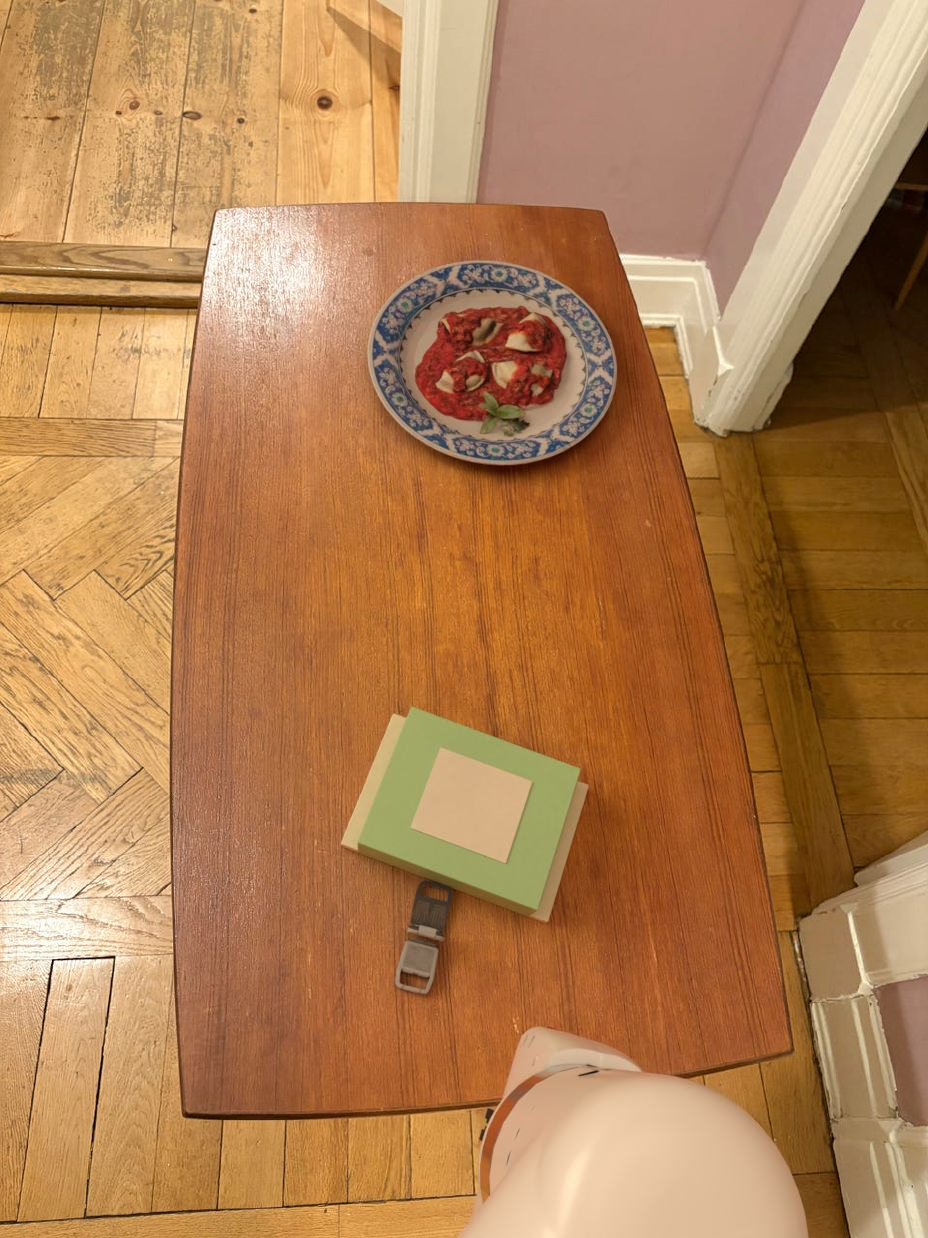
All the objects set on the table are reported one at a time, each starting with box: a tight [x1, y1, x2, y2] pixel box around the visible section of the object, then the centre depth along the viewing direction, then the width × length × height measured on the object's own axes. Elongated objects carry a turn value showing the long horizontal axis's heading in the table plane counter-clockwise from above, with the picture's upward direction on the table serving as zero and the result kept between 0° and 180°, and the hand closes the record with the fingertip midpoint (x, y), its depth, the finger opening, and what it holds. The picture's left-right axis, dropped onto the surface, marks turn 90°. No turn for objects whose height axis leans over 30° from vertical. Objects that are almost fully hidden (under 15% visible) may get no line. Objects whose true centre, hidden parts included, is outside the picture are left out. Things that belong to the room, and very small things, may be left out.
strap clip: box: [394, 879, 453, 995], centre depth 74 cm, size 8×3×4 cm, turn 167°
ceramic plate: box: [366, 259, 618, 466], centre depth 98 cm, size 26×26×3 cm
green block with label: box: [340, 706, 590, 924], centre depth 78 cm, size 12×18×5 cm, turn 71°
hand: (510, 1133), depth 52 cm, fingers closed
